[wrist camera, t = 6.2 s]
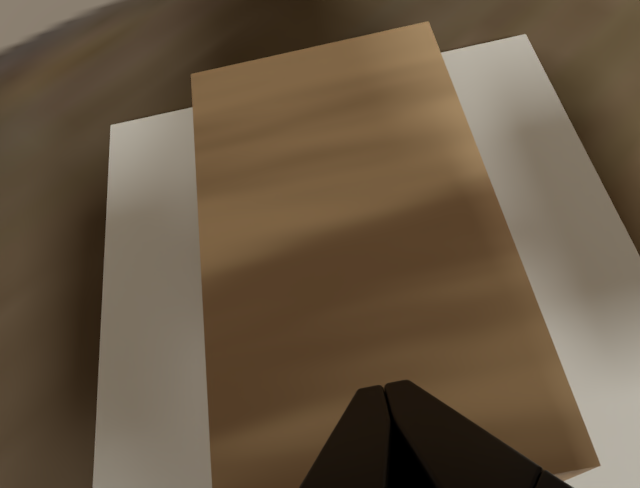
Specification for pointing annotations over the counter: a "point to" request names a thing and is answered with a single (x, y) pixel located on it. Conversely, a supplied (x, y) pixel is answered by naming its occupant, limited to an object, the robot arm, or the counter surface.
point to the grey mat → (520, 214)
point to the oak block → (360, 260)
